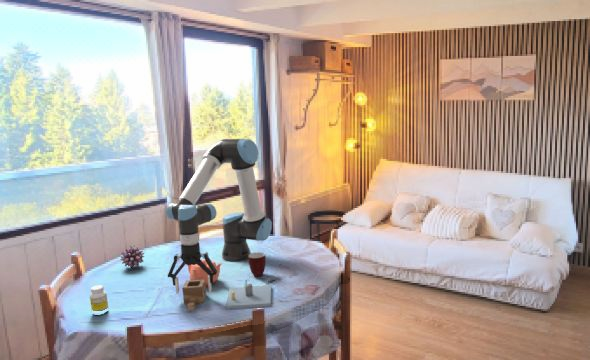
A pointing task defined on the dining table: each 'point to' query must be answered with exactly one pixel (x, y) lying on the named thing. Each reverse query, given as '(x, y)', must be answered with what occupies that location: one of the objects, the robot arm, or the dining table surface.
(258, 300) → the post plate
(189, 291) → the tan hollow block
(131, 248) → the spiky ball
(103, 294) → the pill bottle
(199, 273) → the teapot
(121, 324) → the dining table surface
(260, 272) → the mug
